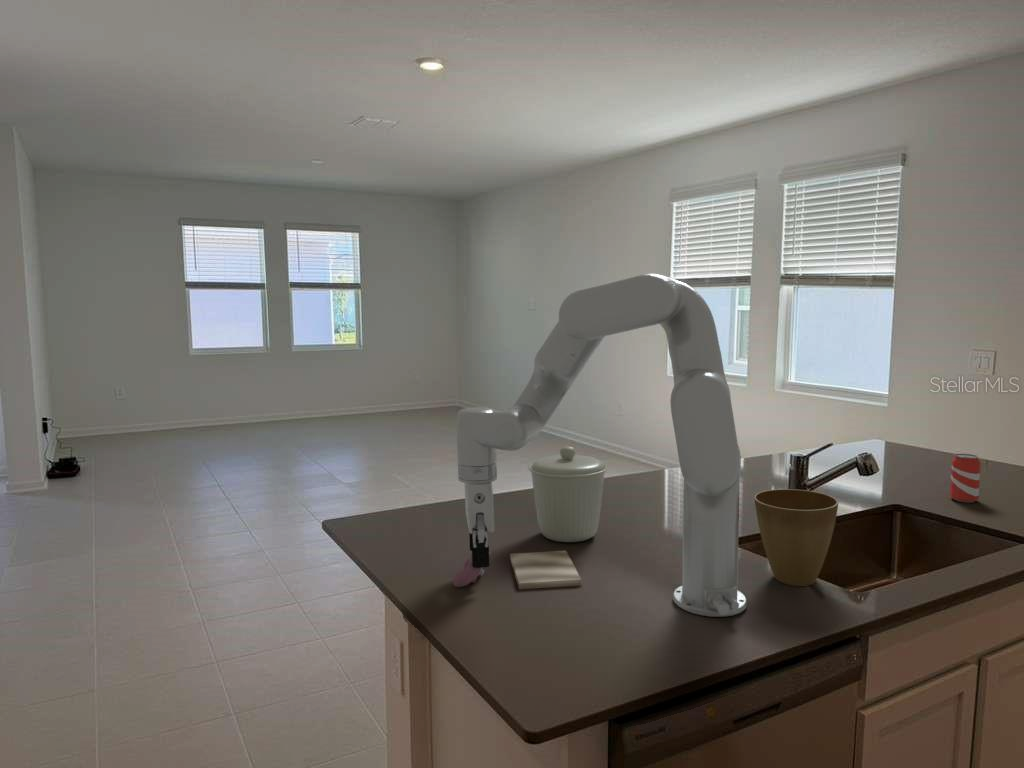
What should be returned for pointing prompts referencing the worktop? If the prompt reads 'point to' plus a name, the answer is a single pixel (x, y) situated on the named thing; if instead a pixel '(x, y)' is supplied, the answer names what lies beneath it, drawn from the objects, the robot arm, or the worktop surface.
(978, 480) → the beverage can
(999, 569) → the worktop surface
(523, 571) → the birch board
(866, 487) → the worktop surface
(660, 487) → the worktop surface
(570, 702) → the worktop surface
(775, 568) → the plant pot
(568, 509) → the canister
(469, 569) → the video game controller
